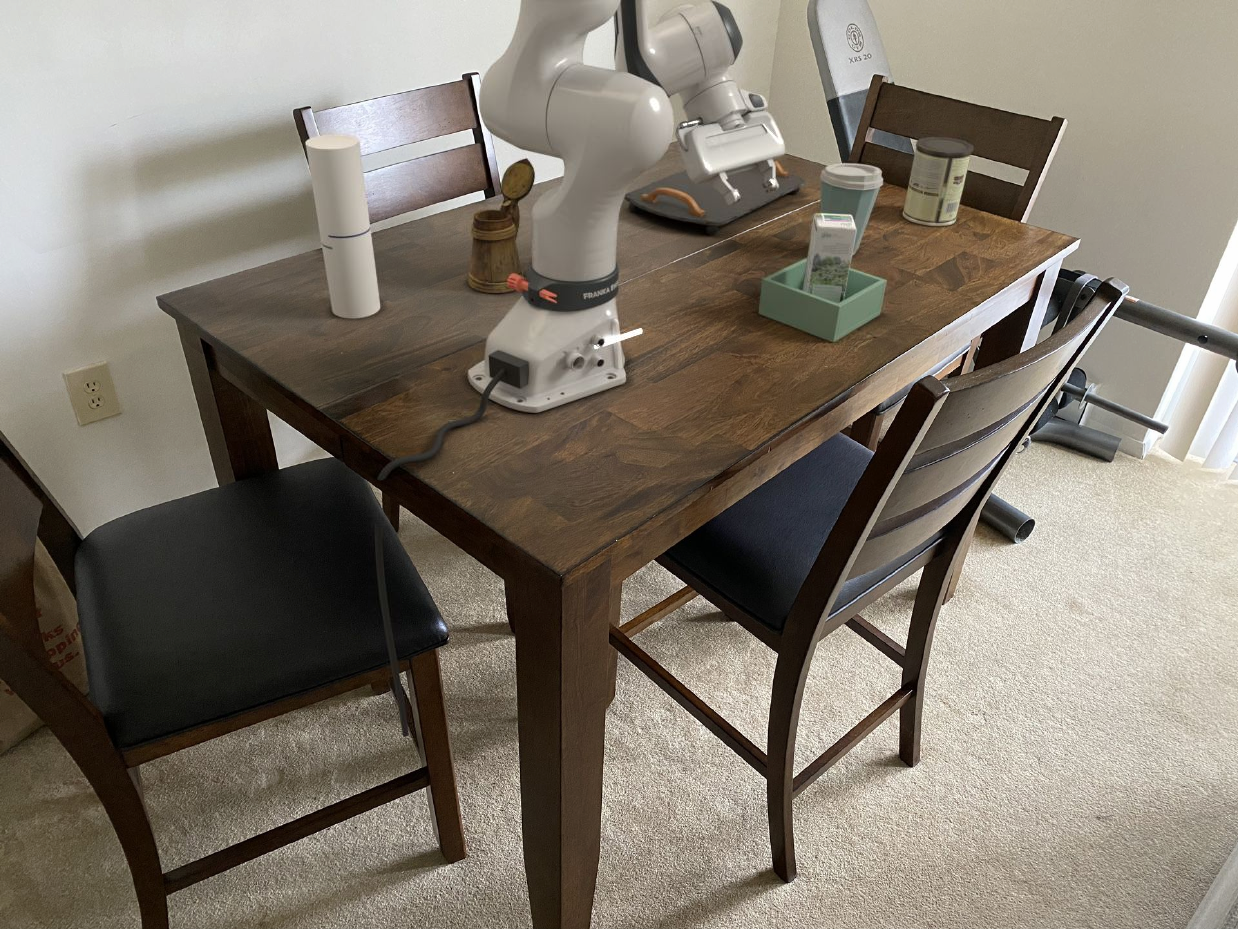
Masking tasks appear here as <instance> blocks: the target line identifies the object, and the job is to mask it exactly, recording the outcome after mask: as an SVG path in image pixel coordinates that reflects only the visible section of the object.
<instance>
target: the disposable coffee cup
mask: <svg viewBox="0 0 1238 929" xmlns="http://www.w3.org/2000/svg"><path fill="white" fill-rule="evenodd" d="M882 173H883V171H882V170H881V168H879V167H877V166H873V165H869V164H862V163H847V162H840V163H833V164H830V165H827V166H825V167H824V168H823V169H822V170H821V173H820V175H819V177H820V202H819V203H820V208H819V213H826V214H846V215H852V217H853V220H854V223H855V227H856V229H857V231H856V237H855V242H854V248H853V253H852V256H854V255H855V254H856V253H857V251H858V250H859V249H860V248H859V247H860V244H861V242H862V240H863V237H864V233H865V230H866V228H867V225H868V223H869V220H870V218H871V217H870V216H871V214H872V211H873V209H874V205H875V203H876V201H877V200H876V199H877V197H878V194H879V192H880V189H881V187H882V186H884V178H883V176H882Z"/></svg>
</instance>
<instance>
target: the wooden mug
mask: <svg viewBox="0 0 1238 929" xmlns="http://www.w3.org/2000/svg"><path fill="white" fill-rule="evenodd" d="M535 179H536V172H535V168H534V166H533V164H532V163H531V161H530V160H529V159H528V158H527V157H526V158H522V159H519V160H517V161H515V162H513V163H512V164H511V165H509V166H508V167H507V168H506V170H505V171H504V173H503V176H502V178H501V183H500V191H501V194H502V197H503V201H502V203H501V206H500V208H499V210H498V209H482V210H479V211H477V212H475V213H474V214H473V221H472V222H471V229H470V230H471V231H470V234H471V237H472V244H471V245H472V246H471V259H470V269H469V272H468V280H467V283H468V286H469V287H470V288H472V289H473V290H476V291H479V292H481V293H482V292H483V293H488V294H490V293H491V294H501V293H502V294H503V293H509V292H513V291H516V290H515V289H511V288H509V287H508V286H507V285H508V284H507V282H508V281H507V279H508V278H509V276H510V275H511V274H513V273H515V274H517V275H519V276H520V277H524V272H523V269H522V267H521V263H520V256H519V252H518V247H517V237H518V234H519V228H520V217H521V216H520V208H519V202H520V201H522V200H523V199H525V198H526V197H527V196H528V195H529V194H530V192H531V191H532V189H533V186H534V183H535Z"/></svg>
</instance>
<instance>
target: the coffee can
mask: <svg viewBox="0 0 1238 929" xmlns="http://www.w3.org/2000/svg"><path fill="white" fill-rule="evenodd" d="M973 152H974V146H973V144H971V143H970V142H967V141H965V140H962V139H957V138H953V137H947V136H946V137H945V136H928V137H927V136H926V137H922V138H919V139H917V140H916V143H915V151H914V155H913V161H912V165H911V171H910V175H909V176H910V177H909V182H908V187H907V192H906V195H905V196H906V197H905V202H904V206H903V211H902V216H903V218H904V219H905V220H907V221H908V222H911V223H914V224H918V225H922V226H928V227H945V226H946V227H947V226H951V225H953V224H954V223H956V221H957V216H958V212H959V207H960V203H961V199H962V195H963V192H964V191H963V190H964V187H965V182H966V178H967V174H968V171H969V170H968V169H969V166H970V161H971V157H972V153H973Z"/></svg>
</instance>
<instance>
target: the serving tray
mask: <svg viewBox="0 0 1238 929" xmlns="http://www.w3.org/2000/svg"><path fill="white" fill-rule="evenodd" d="M774 163H775V165H776V177H775V178H776V180H777V182H778V185H779V188H778V189H777V190H775V191H773V192H770V193H766V192H765V189H764V188H763V185H762V184H763V183H764V182H765V181H764V173H761V172H760V170H759V167H757V168H753V169H749V170H746V171H742V172H739V173H735V174H732V175H728V176H727V177H728V179H727V180H726V181H727V182H728V183H729V184H730V185H731V187H732V188H733V189H738V192H739V195H740V196H741V200H740V201H738V202H737V203H735V204H732V205H728V204H727V202H726V200H725V198H724V196H723V195H722V194H721V193H720V192H718V191H717V190H716V189H715V188H714V187H713V185H712V183H711V181H707V182H703V183H699V184H695V183H694V182H693V181H692V180H690V178H689V176H688V174H687V171H686V169H685V170H682V171H679V172H675V173H673V174H671V175H668V176H666V177H663V178H662V179H659V180H657V181H653V182H651V183H649V184H647V185H644V186H641V187H640V188H637V189H634V190H631V191H629V192H627V193H626V195H625V197H624V199H623V200H625V201H626V202H627V203H628V209H629V212H630V213H638V211H639V210H640V209H641V210H644V211H646V212H648V213H650V214H654V215H657V216H660V217H662V218H663V217H664V218H667V219H671V220H676V221H679V222H687V223H692V224H696V225H697V224H698V225H703V226H705V225H706V228H705V231H706V233H707V235H708V236H710V237H712V236H716V234H717V233H718V230H719V228H718V227H721V226H724V225H727V224H729V223H730V222H732V221H735V220H737V219H739V218H741V217H743V216H744V215H747V214H749V213H751V212H752V211H755V210H757V209H759V208H761V207H763V206H765V205H768V204H769V203H772V202H773V201H775V200H777V199H779V198H782V197H783V196H785V195H787V194H789V193H790V194H791V195H797V194H798V193H799V192H800V190H801V188H802V187H803V186H806V184H807V182H806V181H805V180H804V179H803V178H802V177H799V176H797V175H794V174H792V173H790V172H789V171H786V170H784V169H783V167H782V166H781V164H780V163H779V162H778V161H777V160H776V161H775V162H774Z"/></svg>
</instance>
